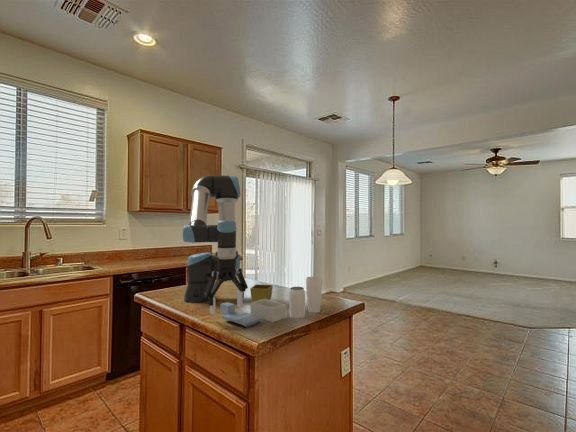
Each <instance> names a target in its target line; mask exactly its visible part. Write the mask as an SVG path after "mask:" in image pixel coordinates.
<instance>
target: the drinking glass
mask: <svg viewBox="0 0 576 432" xmlns="http://www.w3.org/2000/svg"><path fill="white" fill-rule="evenodd" d="M322 281H323V280H322V277H321V276H308V277H306V281H305V286H306V287H305V289H306V298H307V312H308V313H313V314H317V313H320V312H321V301H322V291H323V289H322V288H323V287H322V286H323V283H322Z"/></svg>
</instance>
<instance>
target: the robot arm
mask: <svg viewBox="0 0 576 432" xmlns="http://www.w3.org/2000/svg"><path fill="white" fill-rule="evenodd" d="M190 192H191V193H190V194H191V195H190V196H191V197H192V198H191V199H192V200H191V207H190V214H189V215H190V216H189V221H188V224H186V225H183V227H182V240H183V242H184V243H191V244H192V243H217V249H216V251H215V254H214V255H213V254H212V252H201V253H200V252H199V253H196V254H192V255H189V256H188V259H187V265H186V266H187V286H186V289H185V291H184V295H183V301H184V302H186V301H187V302H186V303H203V302H204V303H205V302H207V303H208V306H209V314H211V315H216V296H215V295H216V293H217V292H218V290H219V288H220V287H221V285H222V284H223V283H224V282H228V281H229V282H231V281H232V283H233V284H234V285H235V287H236V288H237V291H236V292H237V293H236V294H237V295H236V298H237V299H236V306H237V307H239V308H243V305H244V303H243V299H244V297H245V296H244V295H245V292H246V290H247V289H248V284H247V281H246V280H245V277H244V275H243V268H241V267H240V266H241V257H242V255H241V254H239V250H237V222H236V203H237V202H238V199H239V198H241V188H240V181H239V178H238V177H237V176H236V175H212V174H211V175H204V176H202V177H200V178H199V179H198V180H196V181H195V183H194V184H193V186H192V187H191V191H190ZM210 198H215V202H216V203H217V204H218V221H217V224H207V222H208V220H207V219H208V204H209V199H210Z"/></svg>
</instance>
